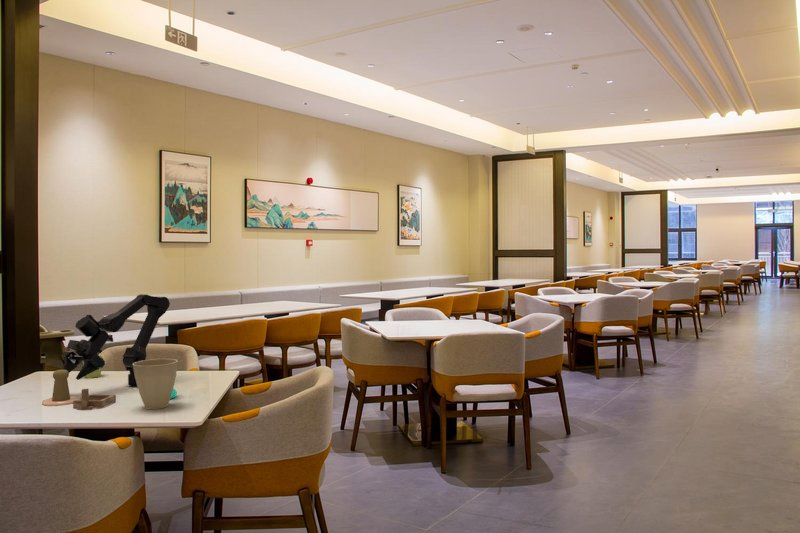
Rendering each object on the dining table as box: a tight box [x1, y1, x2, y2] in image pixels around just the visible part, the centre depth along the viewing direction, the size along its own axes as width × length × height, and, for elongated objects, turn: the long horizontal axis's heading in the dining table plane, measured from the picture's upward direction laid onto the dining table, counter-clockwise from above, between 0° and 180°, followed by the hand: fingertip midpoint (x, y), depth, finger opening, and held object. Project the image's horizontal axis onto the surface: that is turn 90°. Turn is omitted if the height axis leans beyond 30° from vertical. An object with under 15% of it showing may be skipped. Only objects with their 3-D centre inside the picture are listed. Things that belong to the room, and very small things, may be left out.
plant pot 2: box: [133, 358, 179, 410], centre depth 222 cm, size 15×15×16 cm
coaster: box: [41, 395, 80, 407], centre depth 230 cm, size 12×12×1 cm
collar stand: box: [72, 388, 117, 411], centre depth 224 cm, size 12×10×7 cm
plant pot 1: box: [81, 355, 105, 379], centre depth 279 cm, size 9×9×9 cm
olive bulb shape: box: [51, 369, 71, 402], centre depth 230 cm, size 6×6×11 cm
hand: (69, 378), depth 233 cm, fingers open, 9 cm apart
